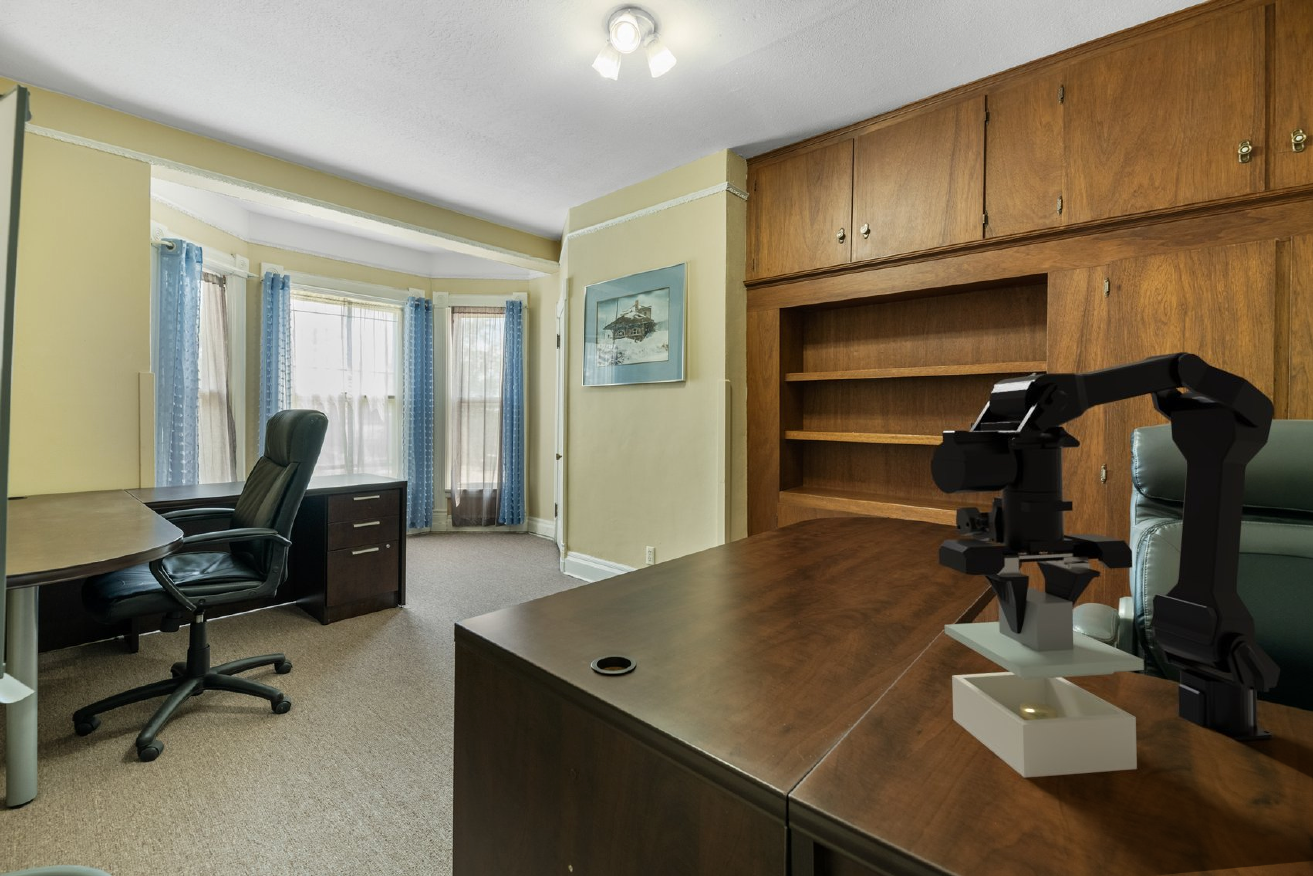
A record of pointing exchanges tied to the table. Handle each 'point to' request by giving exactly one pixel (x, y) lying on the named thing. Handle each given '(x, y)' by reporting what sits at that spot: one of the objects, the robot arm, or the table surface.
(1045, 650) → the lid
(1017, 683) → the box
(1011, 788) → the table surface
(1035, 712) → the brass weight
